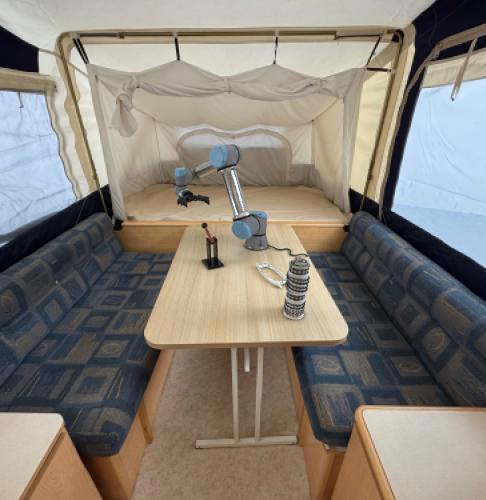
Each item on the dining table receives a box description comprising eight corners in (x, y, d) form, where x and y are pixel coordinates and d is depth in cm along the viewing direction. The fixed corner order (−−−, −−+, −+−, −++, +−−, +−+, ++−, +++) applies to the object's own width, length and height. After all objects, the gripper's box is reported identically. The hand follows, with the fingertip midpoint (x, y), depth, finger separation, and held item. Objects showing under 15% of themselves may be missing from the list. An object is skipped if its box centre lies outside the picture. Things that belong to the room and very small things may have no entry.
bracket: (201, 261, 154) (200, 236, 147) (216, 258, 157) (215, 233, 151) (208, 269, 145) (207, 243, 138) (223, 266, 148) (223, 240, 142)
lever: (200, 225, 153) (200, 221, 150) (205, 225, 154) (206, 220, 152) (209, 245, 145) (210, 241, 142) (215, 244, 146) (216, 240, 144)
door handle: (267, 263, 152) (293, 285, 131) (252, 267, 148) (276, 290, 127) (267, 259, 150) (293, 280, 130) (252, 263, 147) (276, 285, 126)
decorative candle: (278, 314, 111) (283, 261, 100) (287, 303, 118) (293, 253, 107) (299, 323, 106) (307, 268, 95) (307, 311, 113) (315, 258, 102)
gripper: (204, 199, 178) (217, 207, 161) (167, 203, 167) (177, 212, 150) (204, 188, 175) (217, 195, 158) (166, 191, 164) (176, 199, 147)
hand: (198, 203), depth 154 cm, fingers open, 13 cm apart
